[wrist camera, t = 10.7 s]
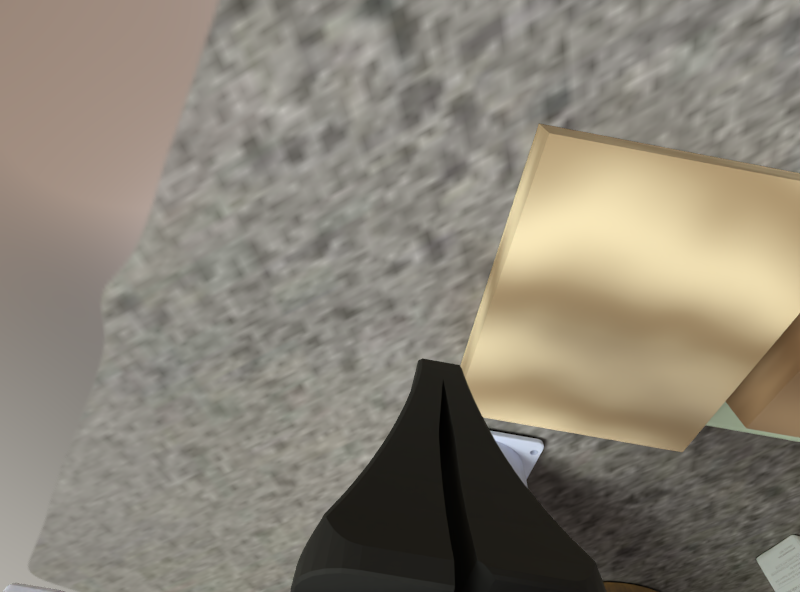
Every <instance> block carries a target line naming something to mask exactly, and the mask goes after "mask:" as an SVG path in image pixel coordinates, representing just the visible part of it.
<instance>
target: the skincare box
mask: <svg viewBox="0 0 800 592" xmlns="http://www.w3.org/2000/svg"><path fill="white" fill-rule="evenodd" d="M756 560H757V562H758V564H759V566H760V567H761V569H762V571H763V572H764V574H765V576H766V577H767V579H768V581H769V582H770V584H771V586H772V587H773V589H774V591H775V592H800V536H797V535H790V536H789V537H787V538H786V539H784V540H783V541H782V542H780V543H779V544H777V545H776V546H774V547H772V548H771V549H769V550H768V551H766V552H764V553H763V554H761V555H760V556H758V557H757V558H756Z"/></svg>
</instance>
